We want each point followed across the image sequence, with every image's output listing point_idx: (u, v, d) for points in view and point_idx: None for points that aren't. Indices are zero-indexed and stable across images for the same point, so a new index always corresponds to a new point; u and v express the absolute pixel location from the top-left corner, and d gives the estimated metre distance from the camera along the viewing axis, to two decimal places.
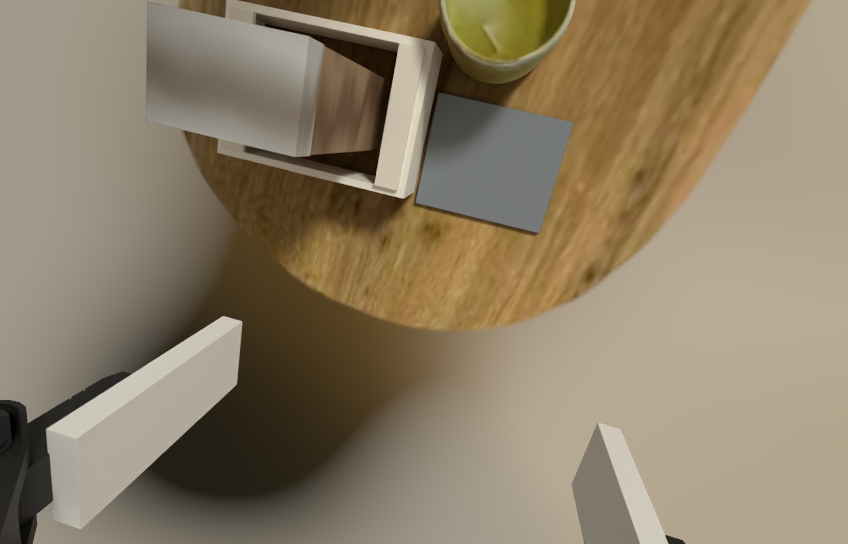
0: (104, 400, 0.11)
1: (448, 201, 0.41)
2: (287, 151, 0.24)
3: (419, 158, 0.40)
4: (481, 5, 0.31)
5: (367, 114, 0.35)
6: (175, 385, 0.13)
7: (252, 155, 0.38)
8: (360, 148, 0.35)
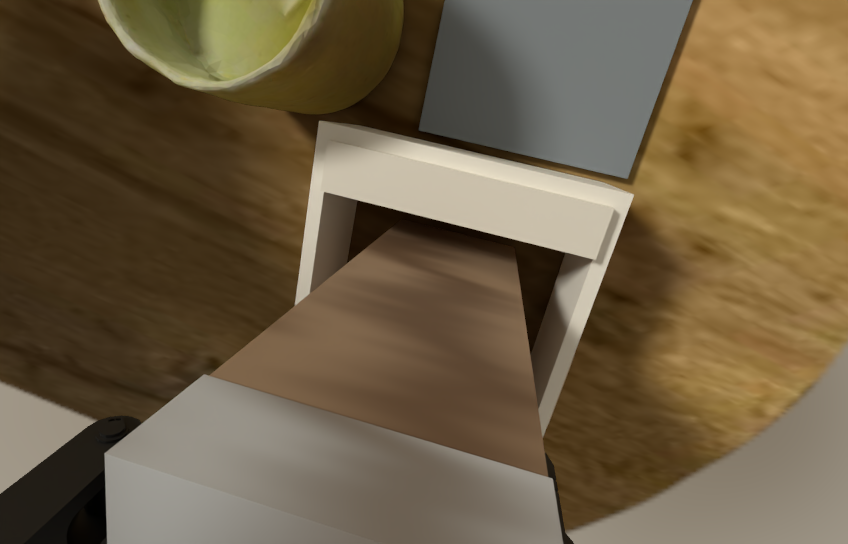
0: None
1: (632, 105, 0.19)
2: None
3: (537, 167, 0.20)
4: (253, 21, 0.16)
5: (446, 261, 0.17)
6: None
7: None
8: (515, 283, 0.16)
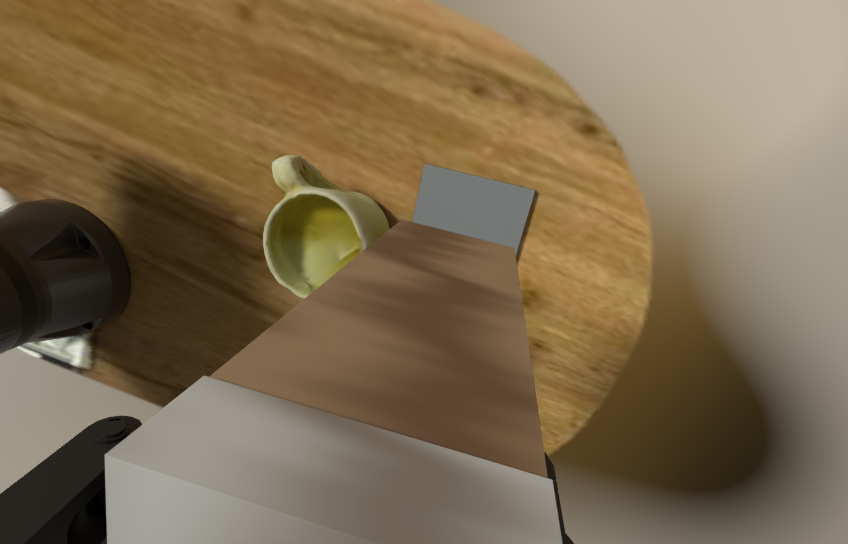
0: None
1: None
2: None
3: None
4: (325, 261, 0.37)
5: (446, 262, 0.17)
6: None
7: None
8: (515, 283, 0.16)
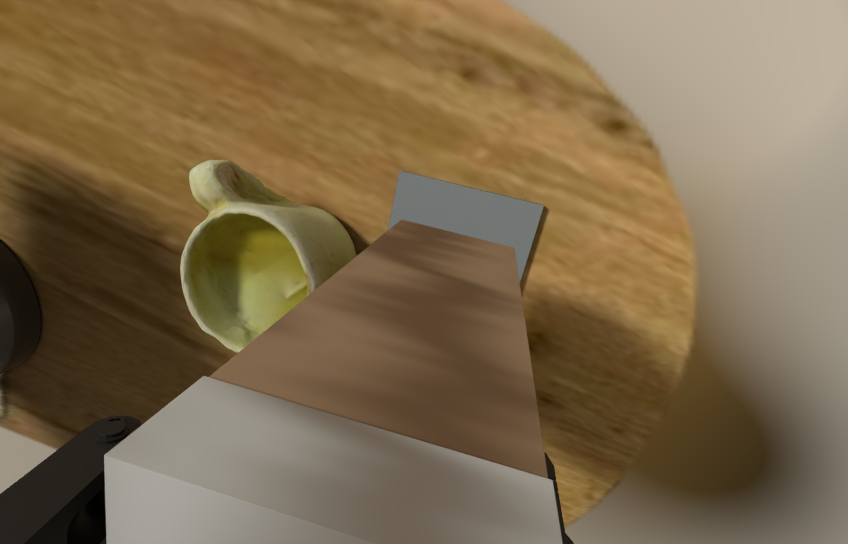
0: None
1: None
2: None
3: None
4: (268, 298, 0.28)
5: (446, 262, 0.17)
6: None
7: None
8: (515, 283, 0.16)
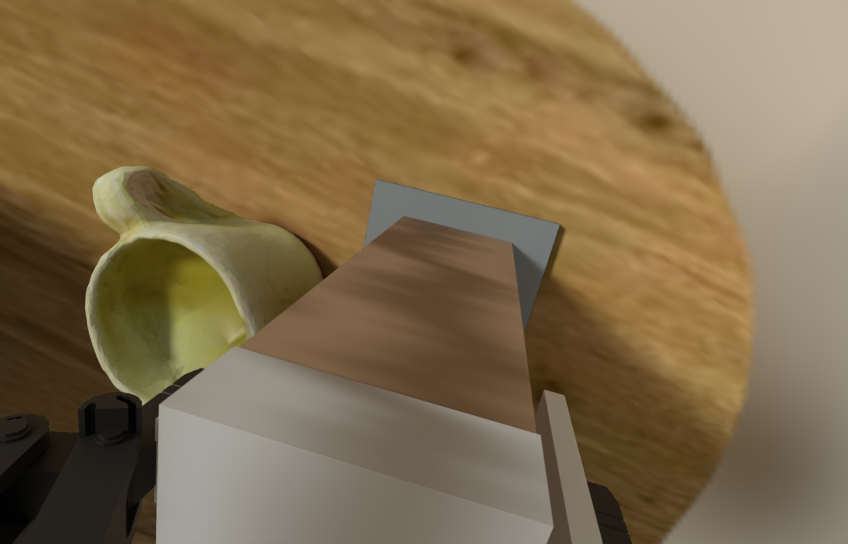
0: None
1: None
2: None
3: None
4: (207, 343, 0.22)
5: (447, 254, 0.18)
6: None
7: None
8: (511, 274, 0.17)
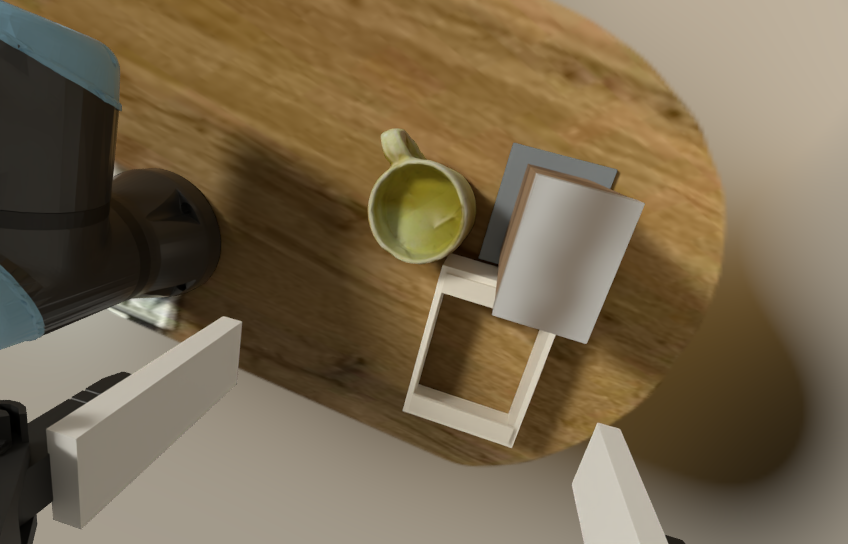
0: (104, 400, 0.11)
1: None
2: (637, 210, 0.24)
3: None
4: (420, 228, 0.41)
5: (565, 175, 0.36)
6: (175, 384, 0.13)
7: (516, 421, 0.45)
8: (599, 184, 0.35)
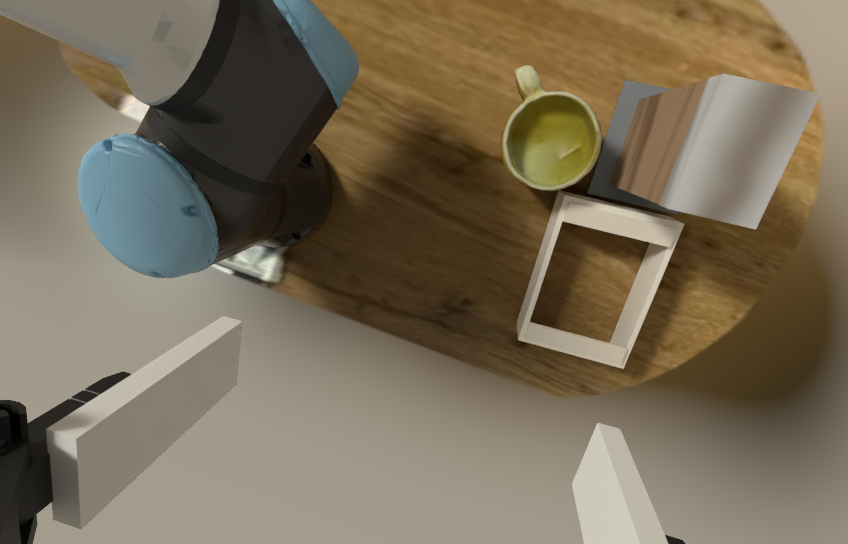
0: (104, 400, 0.11)
1: None
2: (813, 100, 0.28)
3: (640, 210, 0.48)
4: (546, 160, 0.44)
5: None
6: (176, 385, 0.13)
7: (629, 342, 0.48)
8: None
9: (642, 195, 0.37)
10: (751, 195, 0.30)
